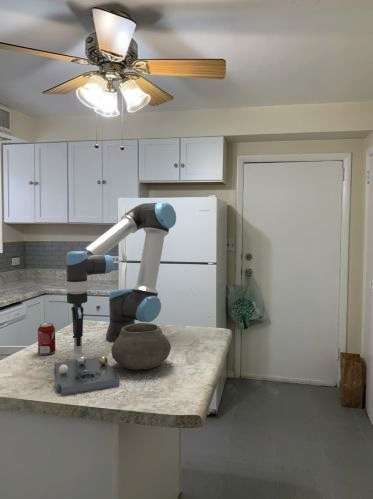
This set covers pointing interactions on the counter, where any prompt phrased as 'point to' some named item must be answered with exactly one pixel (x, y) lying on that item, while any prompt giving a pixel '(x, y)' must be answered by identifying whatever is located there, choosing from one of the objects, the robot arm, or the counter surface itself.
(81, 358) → the steel ball
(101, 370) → the grey flat block
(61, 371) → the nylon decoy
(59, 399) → the counter surface
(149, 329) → the clay pot
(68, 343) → the counter surface
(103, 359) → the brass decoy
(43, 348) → the soda can
